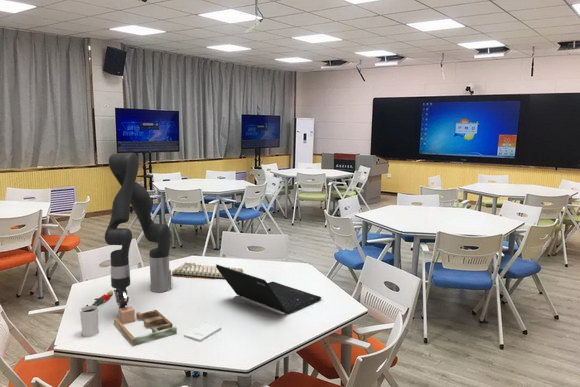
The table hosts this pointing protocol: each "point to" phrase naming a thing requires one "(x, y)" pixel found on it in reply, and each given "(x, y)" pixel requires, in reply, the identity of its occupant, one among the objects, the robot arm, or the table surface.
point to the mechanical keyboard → (199, 271)
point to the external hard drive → (202, 332)
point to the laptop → (267, 291)
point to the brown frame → (151, 320)
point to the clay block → (126, 315)
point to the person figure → (102, 299)
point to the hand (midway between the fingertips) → (122, 314)
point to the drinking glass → (89, 320)
